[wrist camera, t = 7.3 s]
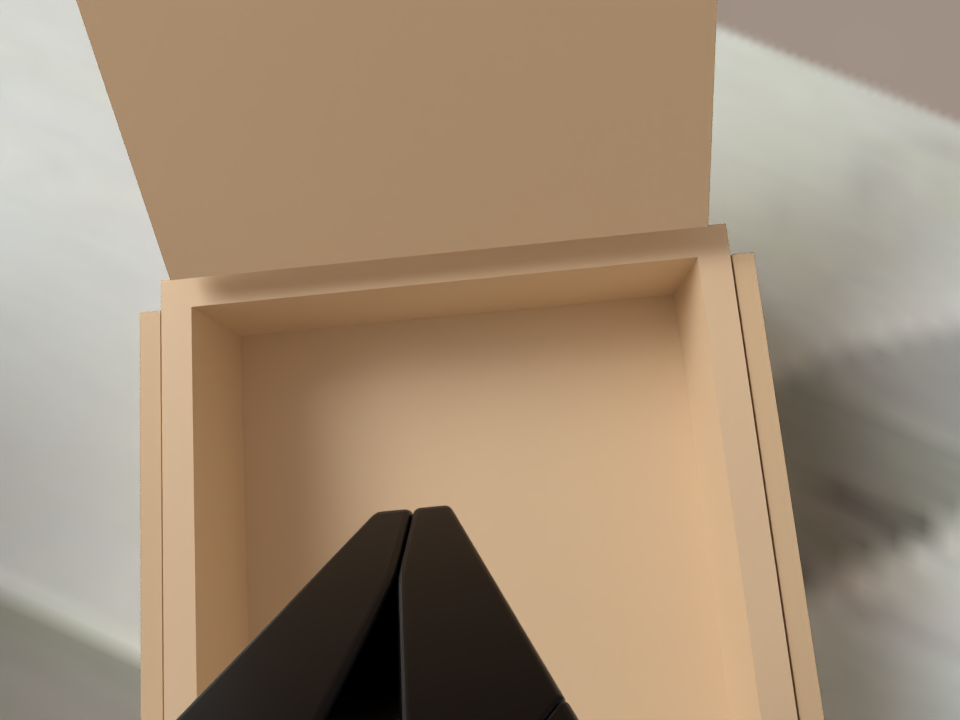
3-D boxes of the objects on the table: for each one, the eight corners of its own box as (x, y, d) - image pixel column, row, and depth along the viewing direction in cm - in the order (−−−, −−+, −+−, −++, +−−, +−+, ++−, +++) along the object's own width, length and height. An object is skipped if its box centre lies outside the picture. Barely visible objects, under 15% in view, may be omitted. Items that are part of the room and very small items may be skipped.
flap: (708, 226, 15) (726, -225, 11) (170, 281, 15) (29, -135, 12) (701, 215, 15) (716, -222, 12) (179, 268, 16) (46, -136, 12)
